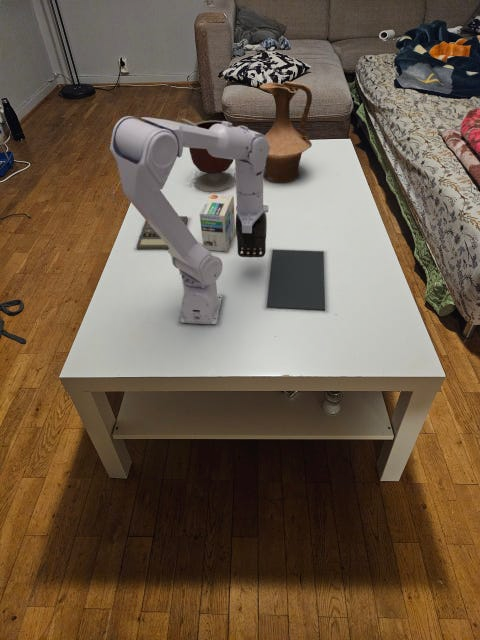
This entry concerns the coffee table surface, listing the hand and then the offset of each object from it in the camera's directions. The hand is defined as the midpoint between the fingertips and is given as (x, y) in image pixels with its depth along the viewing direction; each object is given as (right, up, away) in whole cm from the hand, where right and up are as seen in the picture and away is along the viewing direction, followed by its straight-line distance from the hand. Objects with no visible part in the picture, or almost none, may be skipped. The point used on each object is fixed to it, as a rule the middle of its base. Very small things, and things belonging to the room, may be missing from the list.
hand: (250, 242), depth 105 cm
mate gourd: (-11, +26, +41) cm, 50 cm away
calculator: (-24, +6, +20) cm, 32 cm away
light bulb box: (-8, +4, +17) cm, 20 cm away
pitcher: (+11, +29, +43) cm, 53 cm away
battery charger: (0, -3, +2) cm, 4 cm away
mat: (+11, -8, +4) cm, 14 cm away
